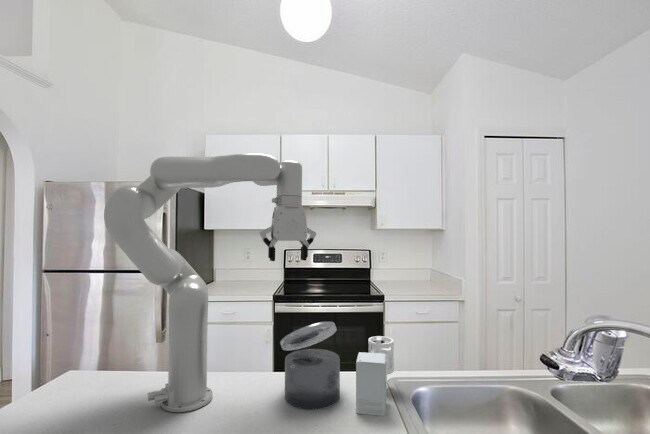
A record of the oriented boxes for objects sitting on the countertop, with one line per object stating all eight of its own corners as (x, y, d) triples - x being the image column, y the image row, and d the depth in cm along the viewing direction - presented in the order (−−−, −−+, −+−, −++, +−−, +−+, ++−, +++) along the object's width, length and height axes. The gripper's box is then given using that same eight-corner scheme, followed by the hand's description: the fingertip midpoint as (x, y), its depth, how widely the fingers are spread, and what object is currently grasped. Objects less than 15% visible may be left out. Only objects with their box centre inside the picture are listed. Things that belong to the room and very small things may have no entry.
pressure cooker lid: (295, 332, 85) (292, 319, 87) (273, 354, 95) (270, 342, 97) (346, 323, 94) (342, 311, 95) (320, 344, 104) (317, 333, 106)
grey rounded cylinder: (302, 415, 82) (302, 373, 83) (275, 391, 95) (275, 355, 95) (351, 398, 90) (350, 360, 91) (320, 379, 103) (320, 345, 103)
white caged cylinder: (365, 392, 94) (365, 337, 95) (372, 382, 100) (371, 331, 101) (391, 397, 91) (390, 340, 92) (396, 386, 98) (395, 333, 98)
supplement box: (386, 417, 82) (385, 363, 82) (355, 413, 83) (355, 361, 84) (386, 402, 89) (386, 353, 89) (358, 399, 90) (358, 351, 91)
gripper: (263, 200, 94) (262, 262, 93) (320, 203, 101) (320, 260, 100) (257, 202, 101) (256, 260, 100) (311, 205, 108) (310, 259, 107)
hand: (288, 260), depth 100 cm, fingers open, 9 cm apart
